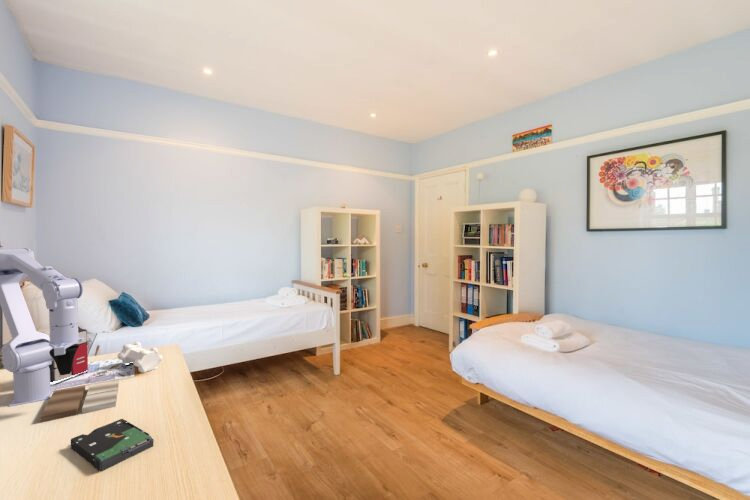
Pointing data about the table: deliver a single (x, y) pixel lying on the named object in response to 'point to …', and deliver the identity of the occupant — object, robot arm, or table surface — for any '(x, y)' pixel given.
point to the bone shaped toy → (140, 357)
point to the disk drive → (111, 444)
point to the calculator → (79, 360)
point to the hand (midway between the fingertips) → (65, 373)
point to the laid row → (63, 404)
